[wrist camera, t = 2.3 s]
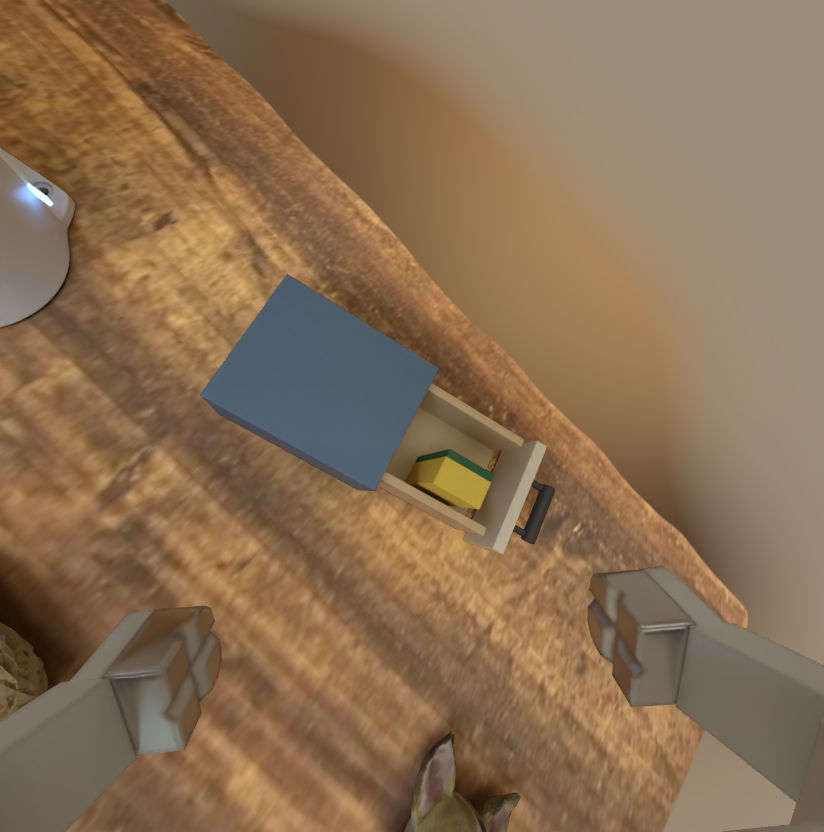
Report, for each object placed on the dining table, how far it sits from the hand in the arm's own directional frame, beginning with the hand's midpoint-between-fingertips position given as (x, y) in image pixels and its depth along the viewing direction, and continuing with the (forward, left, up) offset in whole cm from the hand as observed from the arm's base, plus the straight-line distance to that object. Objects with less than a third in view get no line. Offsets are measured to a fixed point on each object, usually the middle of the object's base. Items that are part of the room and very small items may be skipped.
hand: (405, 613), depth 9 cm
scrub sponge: (+6, +10, -30) cm, 32 cm away
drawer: (+7, +12, -31) cm, 35 cm away
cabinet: (-8, +8, -32) cm, 34 cm away
